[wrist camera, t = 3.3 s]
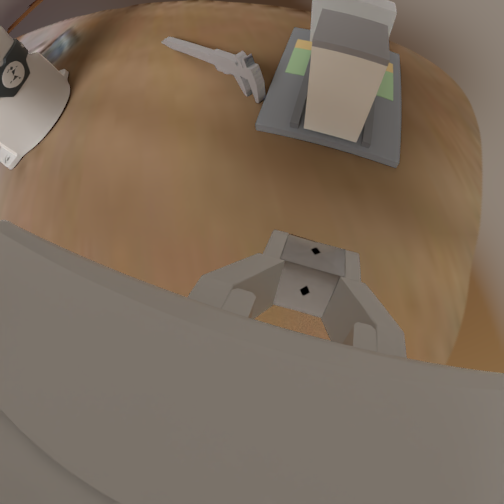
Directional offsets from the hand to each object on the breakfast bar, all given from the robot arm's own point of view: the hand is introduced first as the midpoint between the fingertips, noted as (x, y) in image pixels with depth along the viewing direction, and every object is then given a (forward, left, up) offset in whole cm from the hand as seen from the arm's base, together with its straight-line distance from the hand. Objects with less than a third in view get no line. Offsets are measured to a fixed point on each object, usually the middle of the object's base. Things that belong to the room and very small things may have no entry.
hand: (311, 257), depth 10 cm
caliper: (-16, +22, -14) cm, 31 cm away
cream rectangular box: (0, +16, -12) cm, 20 cm away
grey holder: (0, +22, -13) cm, 26 cm away
